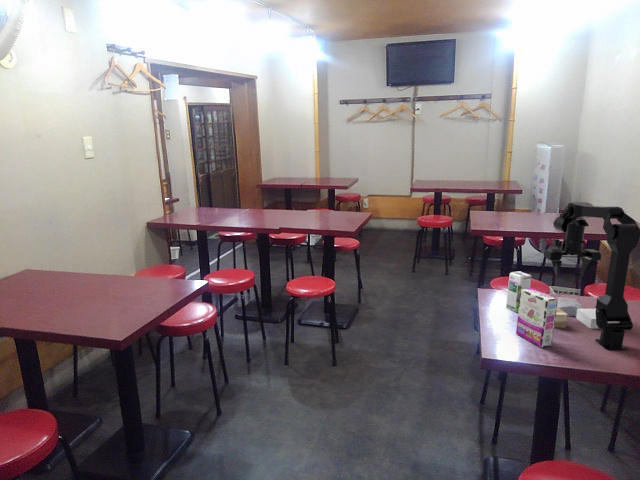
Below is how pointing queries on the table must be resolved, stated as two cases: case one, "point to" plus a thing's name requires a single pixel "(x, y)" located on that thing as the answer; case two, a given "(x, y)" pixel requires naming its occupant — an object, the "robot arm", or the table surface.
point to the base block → (588, 317)
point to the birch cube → (560, 318)
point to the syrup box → (516, 289)
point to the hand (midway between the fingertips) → (569, 276)
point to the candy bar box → (536, 317)
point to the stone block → (568, 305)
